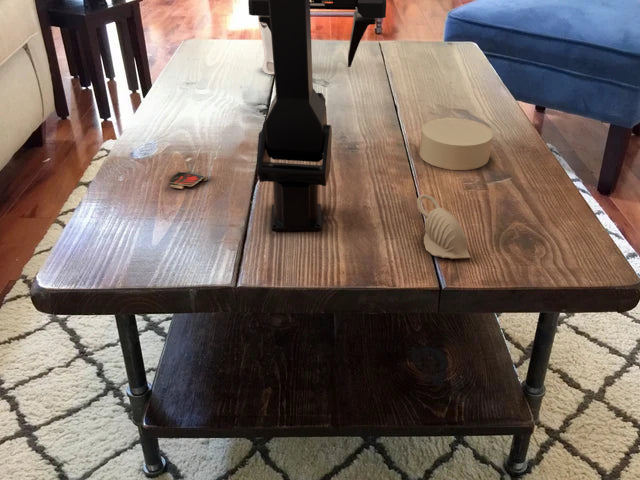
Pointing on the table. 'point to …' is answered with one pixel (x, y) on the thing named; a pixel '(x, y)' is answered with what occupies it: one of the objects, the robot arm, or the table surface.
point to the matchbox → (185, 179)
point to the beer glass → (267, 48)
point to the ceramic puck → (455, 143)
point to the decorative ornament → (443, 232)
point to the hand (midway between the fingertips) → (317, 65)
